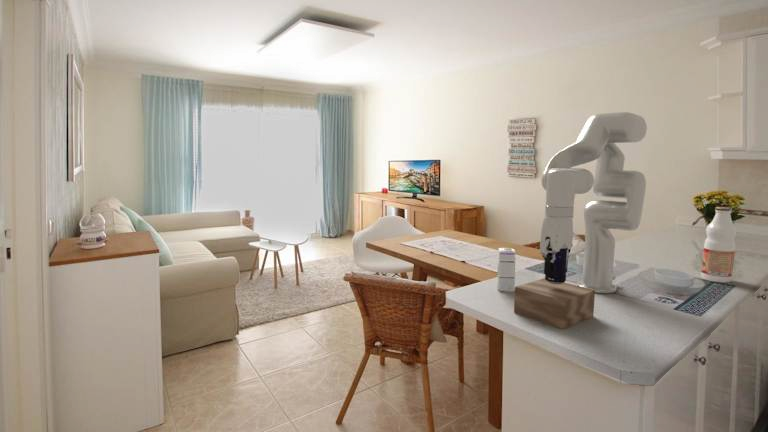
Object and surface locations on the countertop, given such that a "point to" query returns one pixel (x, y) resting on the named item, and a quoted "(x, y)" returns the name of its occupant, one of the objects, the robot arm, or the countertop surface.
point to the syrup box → (506, 269)
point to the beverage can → (559, 267)
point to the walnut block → (554, 303)
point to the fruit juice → (719, 247)
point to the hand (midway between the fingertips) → (555, 272)
